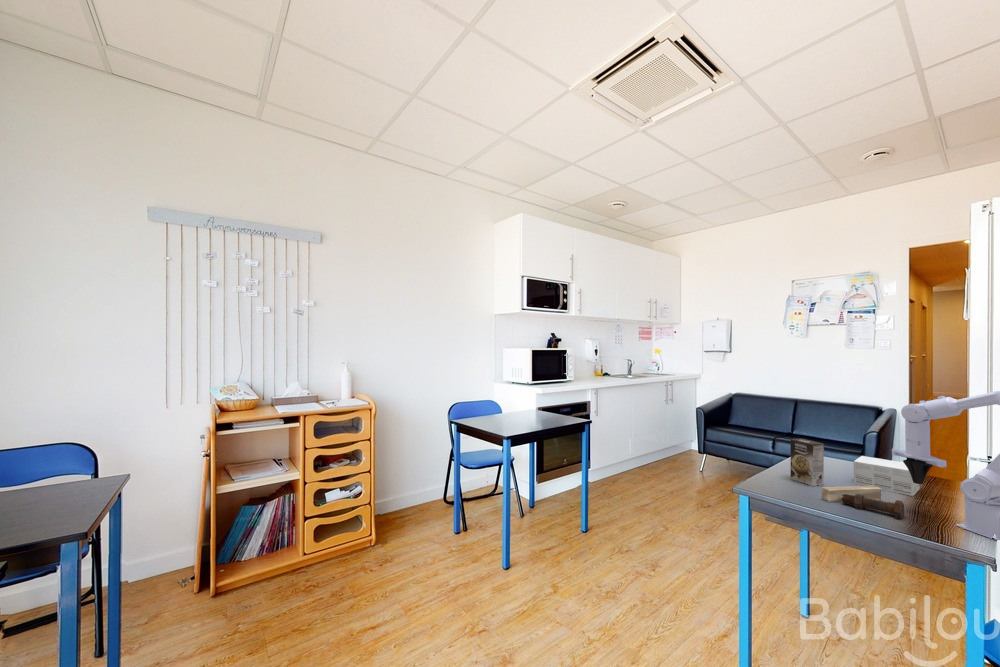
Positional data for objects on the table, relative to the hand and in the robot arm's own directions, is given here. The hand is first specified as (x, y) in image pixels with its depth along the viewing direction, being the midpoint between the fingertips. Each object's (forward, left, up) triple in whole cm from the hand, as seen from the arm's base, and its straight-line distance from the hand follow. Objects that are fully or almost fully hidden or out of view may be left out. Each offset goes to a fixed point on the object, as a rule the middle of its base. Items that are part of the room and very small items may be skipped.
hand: (918, 483), depth 136 cm
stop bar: (+12, +11, -9) cm, 19 cm away
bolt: (+3, +14, -10) cm, 17 cm away
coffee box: (+31, +11, -10) cm, 34 cm away
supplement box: (+24, -16, -10) cm, 30 cm away
